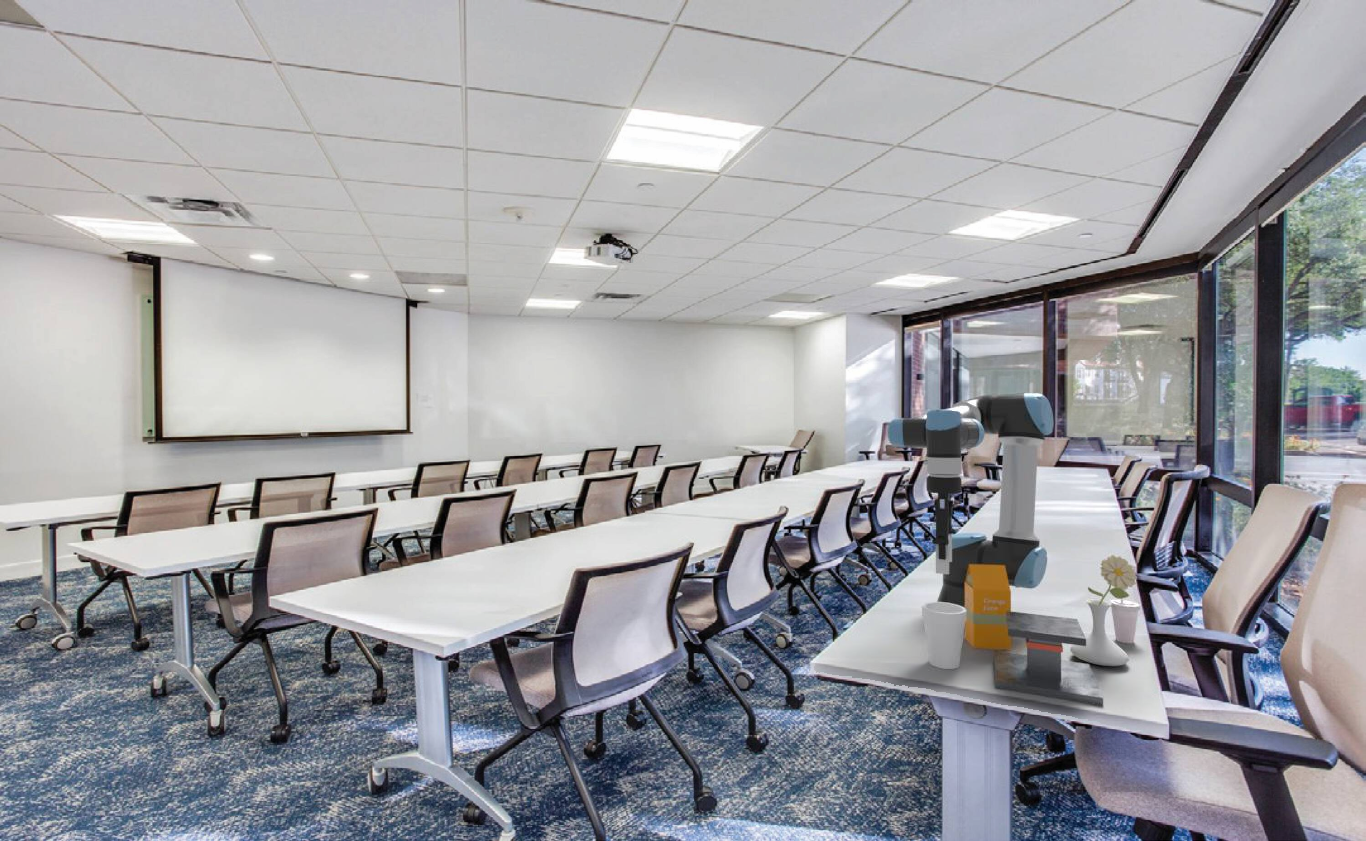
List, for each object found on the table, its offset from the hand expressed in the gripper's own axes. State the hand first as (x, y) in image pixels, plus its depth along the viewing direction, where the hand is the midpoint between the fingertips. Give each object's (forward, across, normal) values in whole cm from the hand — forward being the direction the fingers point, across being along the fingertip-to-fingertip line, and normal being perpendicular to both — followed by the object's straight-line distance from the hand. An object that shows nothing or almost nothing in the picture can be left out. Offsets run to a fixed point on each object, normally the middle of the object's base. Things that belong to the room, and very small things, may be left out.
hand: (944, 567), depth 143 cm
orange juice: (+23, -19, +9) cm, 31 cm away
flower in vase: (+23, -17, +33) cm, 44 cm away
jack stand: (+22, 0, +20) cm, 30 cm away
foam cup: (+23, 0, 0) cm, 23 cm away
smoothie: (+22, -36, +41) cm, 59 cm away
